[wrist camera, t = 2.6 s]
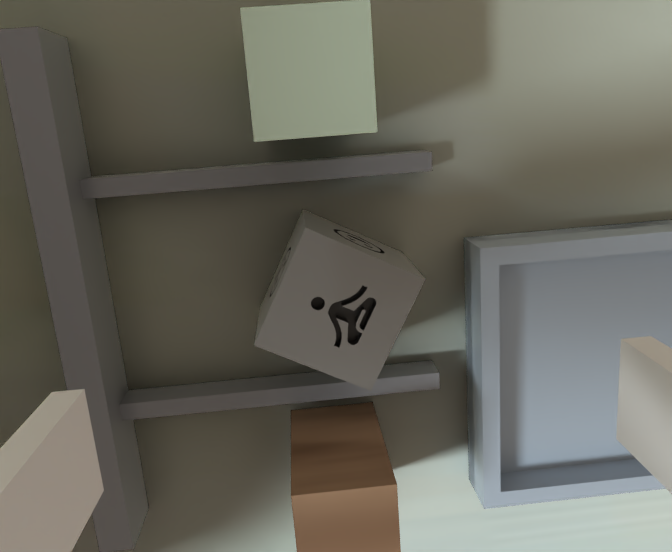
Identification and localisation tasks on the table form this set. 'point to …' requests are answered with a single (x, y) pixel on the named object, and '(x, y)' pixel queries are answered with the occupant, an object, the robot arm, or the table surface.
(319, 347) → the dice cube
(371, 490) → the walnut block
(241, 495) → the table surface
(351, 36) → the sage block
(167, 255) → the table surface
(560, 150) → the table surface
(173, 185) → the grey bar frame
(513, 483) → the slate tray
